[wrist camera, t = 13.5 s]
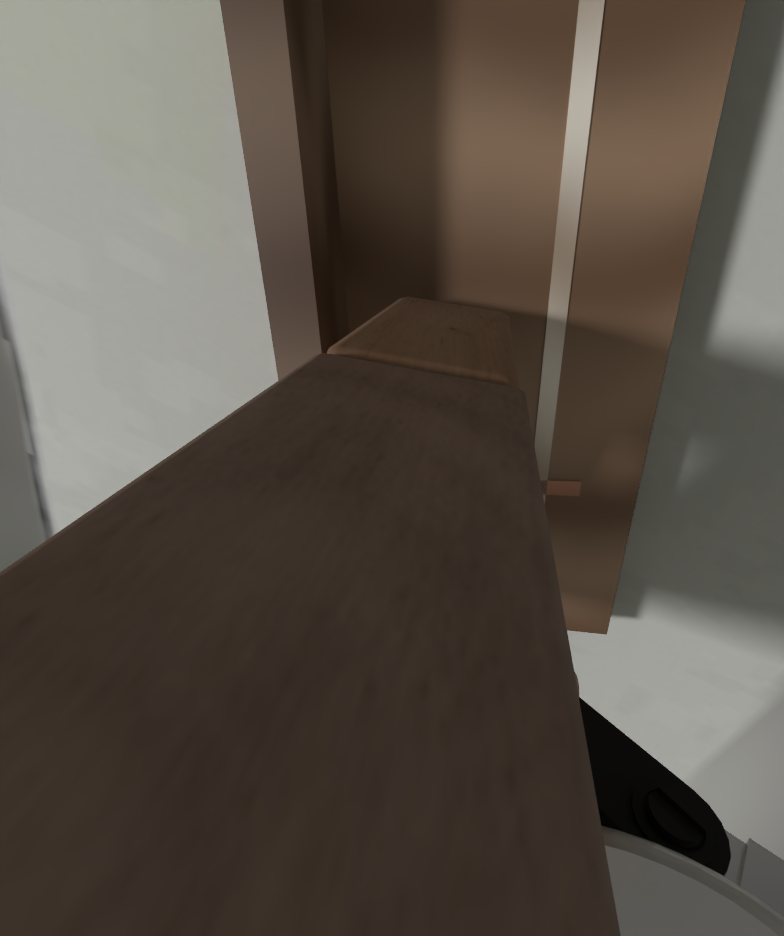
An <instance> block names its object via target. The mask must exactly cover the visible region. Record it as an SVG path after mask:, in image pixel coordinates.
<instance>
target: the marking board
mask: <svg viewBox="0 0 784 936" xmlns="http://www.w3.org/2000/svg"><path fill="white" fill-rule="evenodd" d="M745 2H746V0H220V4H221V10H222V17H223V23H224V30H225V36H226V43H227V49H228V56H229V62H230V69H231V75H232V82H233V88H234V95H235V101H236V107H237V114H238V120H239V127H240V133H241V140H242V146H243V153H244V159H245V166H246V172H247V179H248V185H249V192H250V198H251V205H252V211H253V218H254V224H255V231H256V237H257V244H258V250H259V257H260V263H261V270H262V276H263V282H264V289H265V295H266V302H267V308H268V315H269V321H270V328H271V334H272V341H273V347H274V354H275V360H276V367H277V373H278V380H281V379H282V378H283V377H285V376H286V375H288V374H289V373H291V372H292V371H294V370H295V369H297V368H298V367H299V366H301V365H302V364H304V363H305V362H307V361H308V360H310V359H311V358H313V357H314V356H315V355H317V354H321V353H327V351H328V349H329V348H330V347H331V346H333V345H334V344H335V343H337V342H338V341H340V340H341V339H343V338H344V337H346V336H347V335H348V334H350V333H351V332H353V331H354V330H356V329H357V328H358V327H360V326H361V325H363V324H364V323H366V322H367V321H368V320H370V319H371V318H373V317H374V316H376V315H377V314H378V313H380V312H381V311H383V310H384V309H386V308H387V307H389V306H390V305H391V304H393V303H394V302H396V301H397V300H399V299H401V298H405V297H413V298H420V299H426V300H432V301H439V302H445V303H451V304H458V305H464V306H470V307H477V308H483V309H489V310H496V311H501V312H503V313H504V314H506V315H507V316H509V322H510V329H511V336H512V343H513V350H514V357H515V364H516V371H517V378H518V384H519V389H520V390H522V391H524V392H525V396H526V402H527V408H528V413H529V419H530V425H531V430H532V436H533V442H534V447H535V453H536V459H537V464H538V470H539V476H540V481H541V487H542V493H543V498H544V504H545V510H546V515H547V521H548V527H549V532H550V538H551V544H552V549H553V555H554V561H555V566H556V572H557V578H558V583H559V589H560V595H561V600H562V606H563V612H564V617H565V623H566V629H567V630H570V631H580V632H589V633H599V634H607V631H608V626H609V622H610V617H611V612H612V608H613V603H614V599H615V594H616V590H617V585H618V580H619V576H620V571H621V567H622V562H623V558H624V553H625V549H626V544H627V539H628V535H629V530H630V526H631V521H632V517H633V512H634V508H635V503H636V498H637V494H638V489H639V485H640V480H641V476H642V471H643V467H644V462H645V457H646V453H647V448H648V444H649V439H650V435H651V430H652V426H653V421H654V416H655V412H656V407H657V403H658V398H659V394H660V389H661V384H662V380H663V375H664V371H665V366H666V362H667V357H668V353H669V348H670V343H671V339H672V334H673V330H674V325H675V321H676V316H677V312H678V307H679V302H680V298H681V293H682V289H683V284H684V280H685V275H686V271H687V266H688V261H689V257H690V252H691V248H692V243H693V239H694V234H695V230H696V225H697V220H698V216H699V211H700V207H701V202H702V198H703V193H704V189H705V184H706V179H707V175H708V170H709V166H710V161H711V157H712V152H713V147H714V143H715V138H716V134H717V129H718V125H719V120H720V116H721V111H722V106H723V102H724V97H725V93H726V88H727V84H728V79H729V75H730V70H731V65H732V61H733V56H734V52H735V47H736V43H737V38H738V34H739V29H740V24H741V20H742V15H743V11H744V6H745Z"/></svg>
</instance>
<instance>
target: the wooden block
mask: <svg viewBox="0 0 784 936" xmlns="http://www.w3.org/2000/svg"><path fill="white" fill-rule="evenodd" d="M0 936H621V935H620V929H619V923H618V918H617V912H616V906H615V901H614V895H613V889H612V884H611V878H610V872H609V867H608V861H607V855H606V850H605V844H604V838H603V833H602V827H601V821H600V816H599V810H598V804H597V799H596V793H595V787H594V782H593V776H592V770H591V765H590V759H589V753H588V748H587V742H586V736H585V731H584V725H583V719H582V714H581V708H580V702H579V697H578V691H577V685H576V680H575V674H574V668H573V663H572V657H571V651H570V646H569V640H568V634H567V629H566V623H565V617H564V612H563V606H562V600H561V595H560V589H559V583H558V578H557V572H556V566H555V561H554V555H553V549H552V544H551V538H550V532H549V527H548V521H547V515H546V510H545V504H544V498H543V493H542V487H541V481H540V476H539V470H538V464H537V459H536V453H535V447H534V442H533V436H532V430H531V425H530V419H529V413H528V408H527V402H526V396H525V392H524V391H522V390H520V389H519V384H518V378H517V371H516V364H515V357H514V350H513V343H512V336H511V329H510V322H509V316H507V315H506V314H504V313H503V312H501V311H496V310H489V309H483V308H477V307H470V306H464V305H458V304H451V303H445V302H439V301H432V300H426V299H420V298H413V297H405V298H401V299H399V300H397V301H396V302H394V303H393V304H391V305H390V306H389V307H387V308H386V309H384V310H383V311H381V312H380V313H378V314H377V315H376V316H374V317H373V318H371V319H370V320H368V321H367V322H366V323H364V324H363V325H361V326H360V327H358V328H357V329H356V330H354V331H353V332H351V333H350V334H348V335H347V336H346V337H344V338H343V339H341V340H340V341H338V342H337V343H335V344H334V345H333V346H331V347H330V348H329V349H328V351H327V353H321V354H317V355H315V356H314V357H313V358H311V359H310V360H308V361H307V362H305V363H304V364H302V365H301V366H299V367H298V368H297V369H295V370H294V371H292V372H291V373H289V374H288V375H286V376H285V377H283V378H282V379H281V380H279V381H278V382H276V383H275V384H273V385H272V386H270V387H269V388H267V389H266V390H265V391H263V392H262V393H260V394H259V395H257V396H256V397H254V398H253V399H251V400H250V401H249V402H247V403H246V404H244V405H243V406H241V407H240V408H238V409H237V410H235V411H234V412H233V413H231V414H230V415H228V416H227V417H225V418H224V419H222V420H221V421H219V422H218V423H217V424H215V425H214V426H212V427H211V428H209V429H208V430H206V431H205V432H203V433H202V434H201V435H199V436H198V437H196V438H195V439H193V440H192V441H190V442H189V443H187V444H186V445H185V446H183V447H182V448H180V449H179V450H177V451H176V452H174V453H173V454H171V455H170V456H169V457H167V458H166V459H164V460H163V461H161V462H160V463H158V464H157V465H155V466H154V467H153V468H151V469H150V470H148V471H147V472H145V473H144V474H142V475H141V476H140V477H138V478H137V479H135V480H134V481H132V482H131V483H129V484H128V485H126V486H125V487H124V488H122V489H121V490H119V491H118V492H116V493H115V494H113V495H112V496H110V497H109V498H108V499H106V500H105V501H103V502H102V503H100V504H99V505H97V506H96V507H94V508H93V509H92V510H90V511H89V512H87V513H86V514H84V515H83V516H81V517H80V518H78V519H77V520H76V521H74V522H73V523H71V524H70V525H68V526H67V527H65V528H64V529H62V530H61V531H60V532H58V533H57V534H55V535H54V536H52V537H51V538H49V539H48V540H46V541H45V542H44V543H42V544H41V545H39V546H38V547H36V548H35V549H34V550H32V551H30V552H29V553H28V554H26V555H25V556H24V557H22V558H20V559H19V560H17V561H16V562H14V563H13V564H12V565H10V566H9V567H7V568H6V569H4V570H3V571H1V572H0Z"/></svg>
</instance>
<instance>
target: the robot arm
mask: <svg viewBox="0 0 784 936" xmlns="http://www.w3.org/2000/svg"><path fill="white" fill-rule="evenodd" d="M574 674H575V672H574ZM575 680H576V685H577V691H578V697H579V684H578V679H577V675H576V674H575ZM579 702H580V708H581V714H582V719H583V725H584V731H585V736H586V742H587V748H588V753H589V759H590V765H591V770H592V776H593V782H594V787H595V793H596V799H597V804H598V810H599V816H600V821H601V827H602V833H603V838H604V844H605V850H606V855H607V861H608V867H609V872H610V878H611V884H612V889H613V895H614V901H615V906H616V912H617V918H618V923H619V929H620V935H621V936H784V860H782V859H781V858H779V857H778V856H776V855H775V854H773V853H772V852H770V851H768V850H767V849H766V848H764V847H762V846H761V845H759V844H758V843H756V842H755V841H753V840H752V839H750V838H749V839H748V841H747V843H744V842H743V841H741V840H739V839H738V838H736V837H735V836H733V835H732V834H731V833H729V832H728V831H726V830H725V829H724V828H723V826H722V823H721V821H720V820H719V818H718V817H717V816H716V814H715V813H714V811H713V810H712V809H711V807H710V806H709V805H708V804H707V803H706V802H705V801H704V800H703V799H702V798H701V797H700V796H699V795H698V794H697V793H696V792H695V791H694V790H693V789H691V788H690V787H689V786H688V785H686V784H685V783H684V782H683V781H682V780H680V779H679V778H678V777H677V776H675V775H674V774H673V773H672V772H670V771H669V770H668V769H667V768H666V767H664V766H663V765H662V764H661V763H659V762H658V761H657V760H656V759H654V758H653V757H652V756H651V755H650V754H648V753H647V752H646V751H645V750H643V749H642V748H641V747H640V746H639V745H637V744H636V743H635V742H634V741H632V740H631V739H630V738H629V737H627V736H626V735H625V734H624V733H623V732H621V731H620V730H619V729H618V728H616V727H615V726H614V725H613V724H612V723H610V722H609V721H608V720H607V719H605V718H604V717H603V716H602V715H600V714H599V713H598V712H597V711H596V710H594V709H593V708H592V707H591V706H589V705H588V704H587V703H586V702H584V701H583V700H582V699H581V698H580V697H579Z"/></svg>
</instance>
